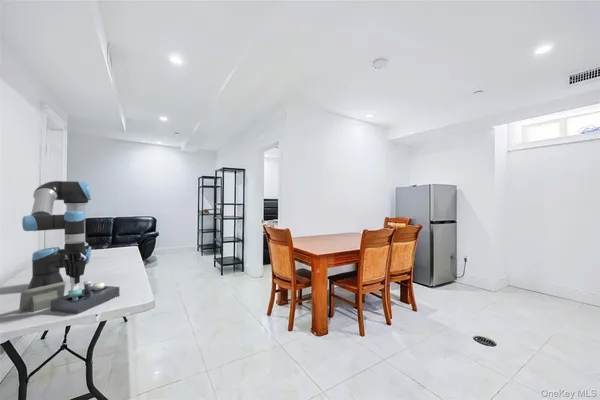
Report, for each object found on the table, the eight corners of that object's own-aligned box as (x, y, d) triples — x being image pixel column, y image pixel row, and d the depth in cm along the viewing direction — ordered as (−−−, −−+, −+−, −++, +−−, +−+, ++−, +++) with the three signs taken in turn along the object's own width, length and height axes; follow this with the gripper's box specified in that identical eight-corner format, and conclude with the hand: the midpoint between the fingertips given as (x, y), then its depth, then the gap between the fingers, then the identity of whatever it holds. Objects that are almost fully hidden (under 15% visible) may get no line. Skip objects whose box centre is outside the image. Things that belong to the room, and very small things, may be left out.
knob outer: (65, 306, 122) (65, 291, 122) (76, 302, 127) (76, 288, 127) (74, 307, 121) (73, 292, 121) (84, 303, 126) (84, 288, 126)
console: (50, 311, 121) (50, 300, 121) (95, 293, 143) (95, 285, 142) (78, 314, 118) (77, 303, 118) (119, 295, 140) (119, 286, 140)
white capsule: (82, 294, 129) (82, 282, 129) (87, 292, 132) (87, 280, 132) (86, 294, 128) (86, 283, 128) (92, 292, 131) (92, 281, 131)
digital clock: (64, 299, 135) (64, 279, 135) (66, 304, 129) (66, 283, 129) (19, 309, 123) (19, 287, 122) (19, 315, 117) (19, 292, 116)
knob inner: (90, 298, 134) (90, 285, 134) (99, 295, 139) (99, 282, 139) (98, 299, 133) (98, 285, 133) (106, 295, 138) (106, 282, 138)
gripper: (55, 243, 121) (55, 291, 122) (77, 244, 119) (78, 293, 119) (72, 240, 129) (72, 286, 129) (93, 241, 127) (93, 288, 127)
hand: (75, 289), depth 124 cm, fingers closed
